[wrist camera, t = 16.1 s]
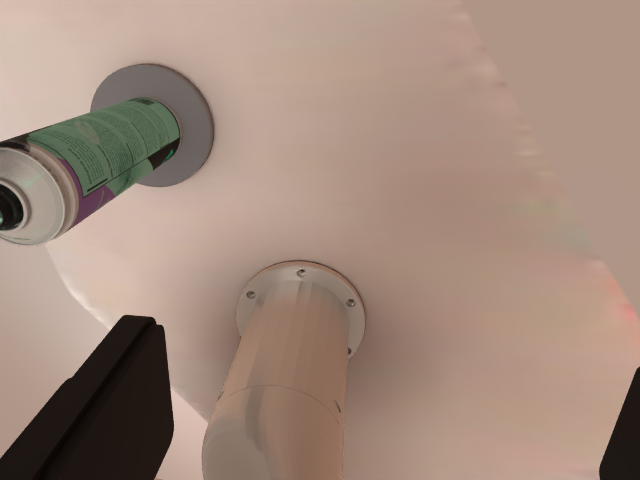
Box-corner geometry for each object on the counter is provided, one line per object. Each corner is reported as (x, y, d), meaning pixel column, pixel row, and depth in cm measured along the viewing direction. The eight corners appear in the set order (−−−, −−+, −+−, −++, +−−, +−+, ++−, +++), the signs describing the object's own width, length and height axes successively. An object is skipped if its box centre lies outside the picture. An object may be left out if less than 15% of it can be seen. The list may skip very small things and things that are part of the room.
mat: (216, 185, 44) (211, 190, 42) (107, 178, 44) (98, 183, 43) (211, 67, 40) (205, 68, 38) (91, 60, 40) (81, 61, 39)
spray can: (105, 112, 40) (-106, 187, 22) (160, 84, 39) (-16, 137, 21) (141, 172, 42) (-26, 285, 24) (195, 146, 41) (61, 245, 23)
